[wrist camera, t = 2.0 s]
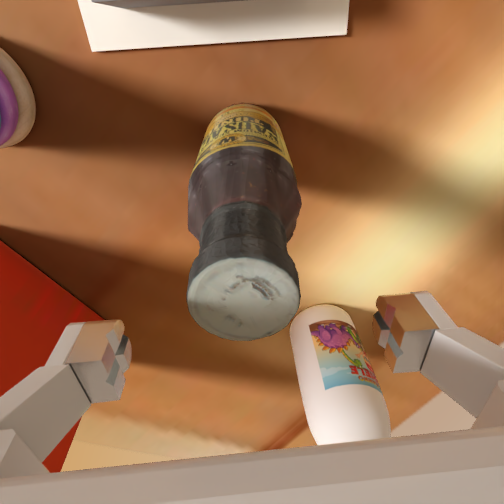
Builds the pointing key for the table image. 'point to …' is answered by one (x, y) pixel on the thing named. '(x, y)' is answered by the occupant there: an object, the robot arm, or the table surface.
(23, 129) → the stacking toy
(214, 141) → the sauce bottle
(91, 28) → the mount collar
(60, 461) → the tall red box
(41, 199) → the table surface
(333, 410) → the milk bottle
